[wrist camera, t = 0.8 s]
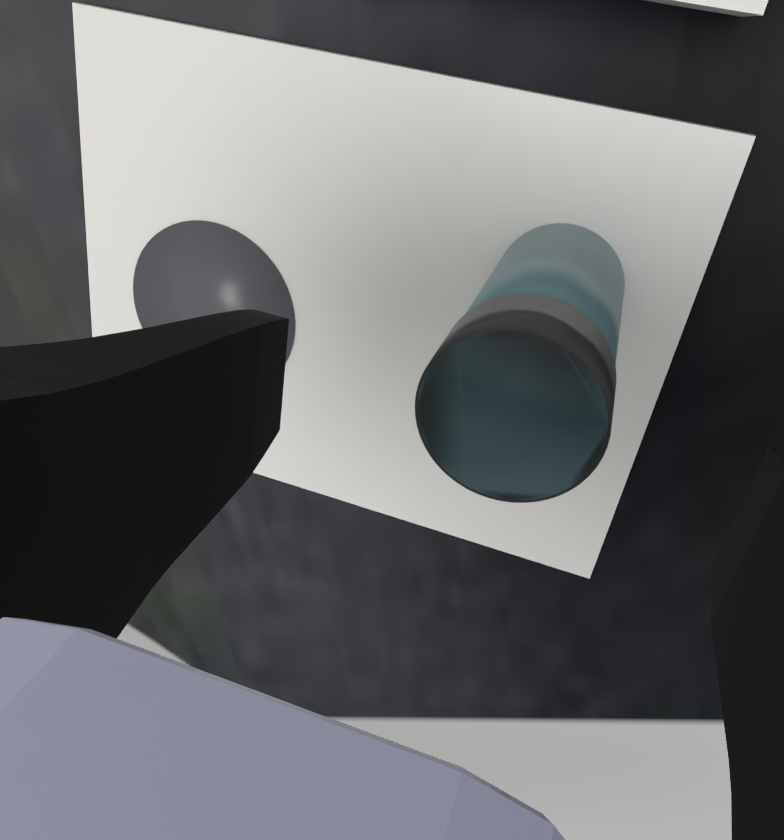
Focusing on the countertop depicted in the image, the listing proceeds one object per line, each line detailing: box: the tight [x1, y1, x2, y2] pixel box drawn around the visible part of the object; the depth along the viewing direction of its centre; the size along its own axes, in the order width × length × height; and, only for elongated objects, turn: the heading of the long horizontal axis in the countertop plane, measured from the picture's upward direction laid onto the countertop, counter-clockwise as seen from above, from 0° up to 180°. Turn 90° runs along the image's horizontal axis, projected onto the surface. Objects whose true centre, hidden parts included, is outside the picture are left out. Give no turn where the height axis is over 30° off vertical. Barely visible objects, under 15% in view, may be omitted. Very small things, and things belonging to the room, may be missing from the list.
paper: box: [72, 3, 756, 579], centre depth 20 cm, size 16×12×1 cm
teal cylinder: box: [415, 223, 625, 503], centre depth 15 cm, size 3×3×7 cm
